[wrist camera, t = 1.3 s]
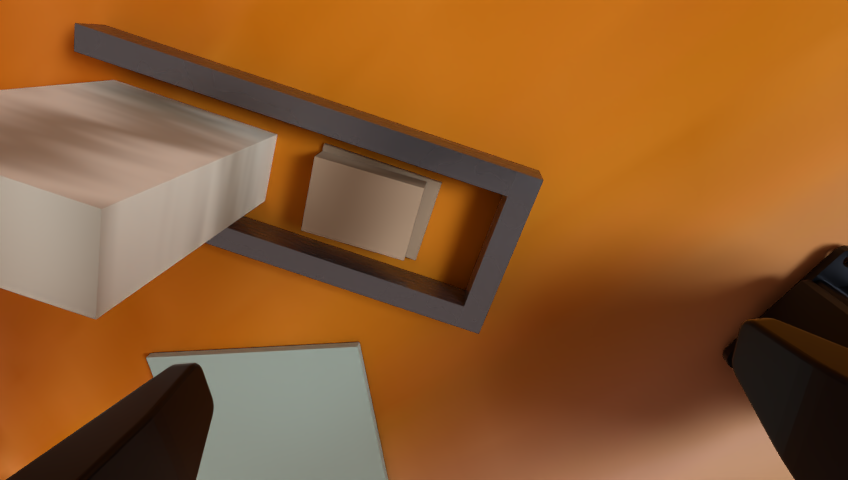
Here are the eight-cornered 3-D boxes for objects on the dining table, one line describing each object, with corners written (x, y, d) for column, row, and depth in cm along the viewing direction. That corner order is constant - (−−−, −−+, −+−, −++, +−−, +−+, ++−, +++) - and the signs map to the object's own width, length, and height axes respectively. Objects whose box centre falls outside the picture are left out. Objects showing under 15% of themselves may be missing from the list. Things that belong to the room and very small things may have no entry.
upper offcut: (426, 181, 20) (424, 188, 19) (407, 250, 21) (403, 260, 20) (322, 151, 20) (314, 156, 19) (308, 222, 21) (300, 230, 20)
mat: (359, 342, 23) (357, 346, 23) (395, 512, 27) (393, 518, 27) (151, 353, 25) (146, 357, 25) (211, 512, 29) (208, 518, 28)
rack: (539, 170, 19) (543, 180, 18) (479, 315, 22) (478, 333, 21) (104, 24, 19) (74, 23, 18) (96, 188, 22) (70, 198, 21)
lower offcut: (443, 177, 21) (441, 183, 20) (418, 251, 22) (415, 260, 21) (331, 139, 21) (324, 143, 20) (312, 216, 22) (305, 223, 21)
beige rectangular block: (277, 134, 20) (101, 209, 11) (264, 200, 21) (95, 319, 12) (114, 79, 20) (-202, 108, 11) (110, 149, 21) (-179, 228, 12)
